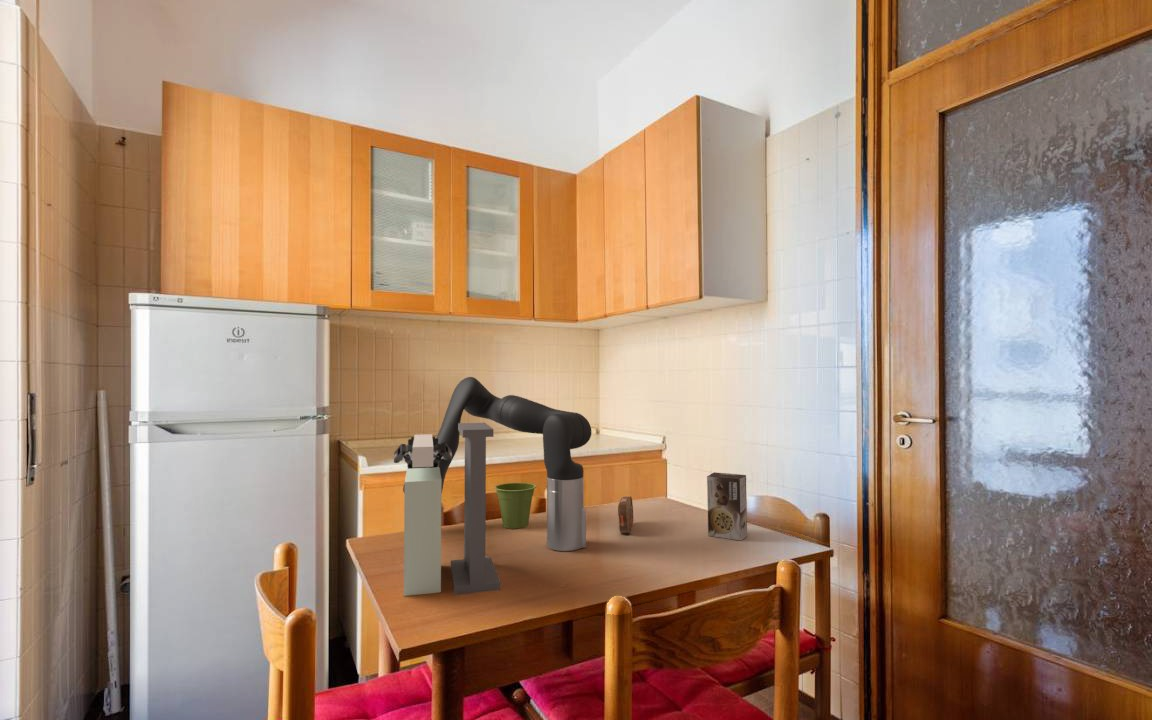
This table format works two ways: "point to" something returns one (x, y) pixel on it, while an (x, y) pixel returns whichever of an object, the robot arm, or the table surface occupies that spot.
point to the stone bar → (422, 451)
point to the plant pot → (515, 503)
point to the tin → (625, 514)
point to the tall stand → (474, 517)
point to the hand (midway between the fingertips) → (423, 440)
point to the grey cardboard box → (727, 506)
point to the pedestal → (422, 531)
